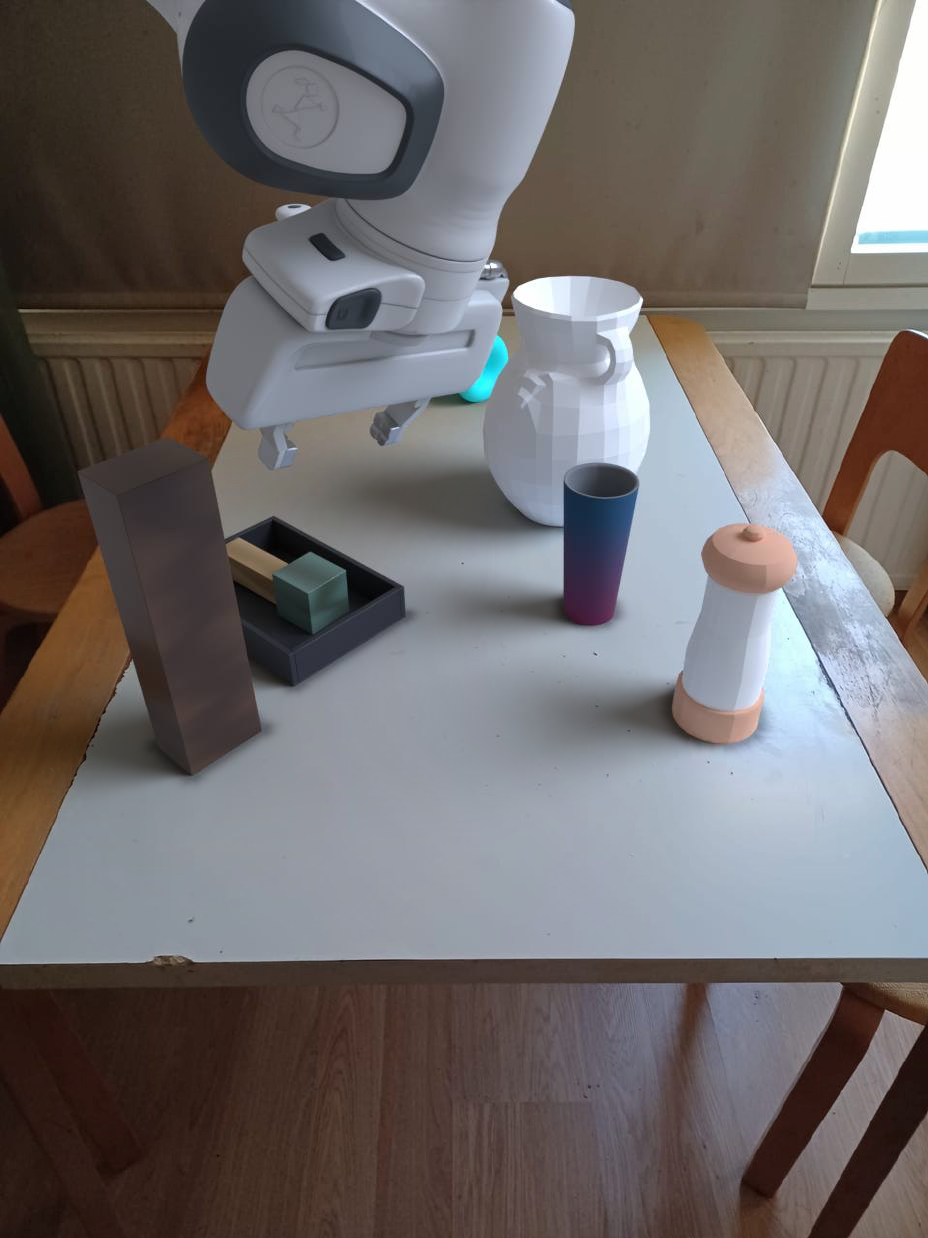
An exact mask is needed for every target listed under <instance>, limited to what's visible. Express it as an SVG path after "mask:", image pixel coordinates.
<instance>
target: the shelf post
mask: <svg viewBox="0 0 928 1238" xmlns="http://www.w3.org/2000/svg"><path fill="white" fill-rule="evenodd" d="M210 461H211V460H210V458H209V457H207V456H205V455H204V454H202V453H200V452H198V451H197V450H194V449H193V448H190V447H188V446H187V445H184V444H183V443H180V442H179V441H177V440H176V439H173V438H171V437H170V436H166V437H163V438H161V439H158V440H155V441H153V442H151V443H148V444H145V445H143V446H140V447H137V448H135V449H132V450H130V451H127V452H124V453H122V454H119V455H117V456H116V455H115V456H114V457H111V458H109V459H106V460H103V461H100V462H97V463H95V464H93V465H89V466H87V467H85V468H83V469H80V470H77V475H78V479H79V482H80V485H81V488H82V492H83V496H84V499H85V502H86V506H87V509H88V513H89V516H90V519H91V523H92V526H93V530H94V534H95V536H96V541H97V544H98V547H99V550H100V554H101V558H102V561H103V564H104V567H105V570H106V575H107V578H108V580H109V581H108V582H109V585H110V588H111V592H112V594H113V597H114V602H115V605H116V608H117V611H118V614H119V618H120V622H121V626H122V628H123V632H124V635H125V639H126V643H127V646H128V649H129V653H130V655H131V659H132V662H133V666H134V669H135V672H136V673H135V674H136V677H137V680H138V683H139V687H140V691H141V693H142V696H143V700H144V703H145V707H146V711H147V713H148V717H149V720H150V724H151V727H152V728H151V729H152V732H153V734H154V737H155V741H156V745H157V747H158V749H160V750H161V751H162V752H164V753H165V754H166V755H167V756H168V757H169V758H170V759H172V760H173V761H174V762H175V763H176V764H177V765H179V766H180V767H181V768H182V769H183V770H184V771H186V772H187V773H188V774H189V775H190V776H192V777H193V776H195V775H196V774H198V773H200V772H201V771H203V770H205V768H207V767H209V766H210V765H212V764H213V763H214V762H217V761H218V760H220V759H222V758H223V757H224V756H225V755H227V754H229V753H230V752H232V751H233V750H235V749H237V748H238V747H240V746H241V745H242V744H244V743H246V742H247V741H249V740H250V739H252V738H253V737H255V736H256V735H258V734H260V733H261V732H262V731H263V730H262V725H261V719H260V714H259V709H258V703H257V699H256V694H255V688H254V684H253V683H254V682H253V679H252V678H253V677H252V672H251V667H250V662H249V656H248V655H247V652H246V646H245V641H244V636H243V631H242V626H241V621H240V615H239V610H238V605H237V600H236V595H235V590H234V584H233V579H232V574H231V569H230V564H229V559H228V553H227V548H226V543H225V539H226V538H225V533H224V529H223V522H222V518H221V513H220V508H219V501H218V497H217V492H216V487H215V482H214V476H213V472H212V467H211V462H210Z"/></svg>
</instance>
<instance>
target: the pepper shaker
mask: <svg viewBox="0 0 928 1238" xmlns="http://www.w3.org/2000/svg"><path fill="white" fill-rule="evenodd" d="M700 556H701V561H702V565H703V568H704V570H705V573H706V574H707V579H706V583H705V588H704V594H703V599H702V604H701V608H700V612H699V615H698V617H697V619H696V622H695V624H694V628H693V630H692V632H691V635H690V637H689V640H688V642H687V646H686V649H685V655H684V662H683V669H682V671H680V673H678V675H677V678H676V681H675V687H674V693H673V698H672V704H671V711H672V717H673V719H674V720H675V722H676V723H677V726H679V727H680V728H681V729H682V730H683V731H685V732H686V733H687V734H689V736H693V737H694V738H696V739H698V740H701V741H704V742H708V743H712V744H722V745H723V744H725V745H726V744H728V745H729V744H733V743H740V742H742V741H744V740H746V739H748V738H749V737H751V736H752V735H753V734H754V732H755V731H756V730H757V727H758V724H759V719H760V717H761V712H762V709H763V704H764V700H765V691H764V688H763V687H764V682H765V679H766V676H767V673H768V670H769V666H770V659H771V637H772V623H773V618H774V616H775V615H774V614H775V610H776V606H777V602H778V598H779V593H780V589H782V588H783V587H784V586H786V585H787V584H788V583H789V582H790V580H791V579H792V578H793V577H794V575H795V574H796V572H797V570H798V569H797V568H798V555H797V552H796V550H795V548H794V546H793V544H792V542H791V540H789V539H788V538H787V537H786V536H785V535H784V534H783V533H781V532H779V531H777V530H776V529H774V528H771V527H768V526H764V525H761V524H757V523H756V524H755V523H744V522H738V523H731V524H727V525H725V526H722V527H719V528H717V530H715V531H714V533H712V534H710V536H709V537H708V538H706V540H705V542H704V545H703V546H702V549H701V551H700Z"/></svg>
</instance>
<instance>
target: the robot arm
mask: <svg viewBox="0 0 928 1238" xmlns="http://www.w3.org/2000/svg"><path fill="white" fill-rule="evenodd" d="M145 1H146V2H148V4H149V5H150V6H152V7H153V8H154V9H155V10H156V11H157V12H158V13H159V14H160V15H161V16H162V18H163V19H164V20H165V21H166V22H167V24H168V25H169V26H170V27H171V28H172V30H173V32H175V34H176V40H177V49H178V57H179V64H180V69H181V76H182V85H183V90H184V96H185V100H186V103H187V107H188V109H189V112H190V115H191V117H192V119H193V121H194V124H195V126H196V128H197V129H198V131H199V133H200V134H201V136H202V138H203V139H204V141H205V142H206V144H208V146H209V147H210V149H211V150H212V151H213V152H214V154H216V155H217V156H218V157H219V159H221V160H222V161H223V162H224V163H225V164H226V165H227V166H229V167H230V168H231V169H233V170H234V171H235V172H237V173H239V174H240V175H242V176H243V177H245V178H247V179H248V180H251V181H253V182H255V183H257V184H260V185H263V186H265V187H269V188H273V189H278V190H283V191H286V192H287V191H288V192H295V193H300V194H306V195H312V196H318V197H319V196H320V197H328V198H327V199H325V200H323V201H321V202H319V203H318V204H316V205H314V206H312V207H311V208H310V209H308V210H306V211H303V212H301V213H298V214H296V215H293V216H290V217H288V218H285V219H282V220H279V221H278V220H276V221H273V222H270V223H267V224H263V225H261V226H259V227H258V226H257V228H254V229H253V230H252V231H250V232H249V234H248V235H247V237H246V238H245V241H244V243H243V249H242V255H241V256H242V263H244V265H245V267H246V268H247V269H248V271H249V272H250V273H251V275H250V276H248V277H246V278H245V279H243V280H242V281H241V282H239V284H238V285H237V286H236V287H235V289H234V290H233V291H232V293H231V294H230V295H229V298H228V300H227V301H226V303H225V306H224V309H223V311H222V314H221V317H220V320H219V324H218V326H217V330H216V333H215V336H214V339H213V344H212V346H211V351H210V354H209V358H208V363H207V368H206V374H205V384H206V385H205V386H206V388H207V391H208V393H209V395H210V396H211V398H212V399H213V401H214V402H215V403H216V405H217V406H218V407H219V408H220V410H221V411H222V412H223V413H224V415H226V416H227V417H228V418H229V419H230V420H231V422H232V423H234V425H235V426H236V427H238V428H239V429H240V430H242V431H253V430H257V429H259V430H260V433H261V439H260V442H259V446H258V448H257V455H258V458H259V460H260V462H262V463H263V464H264V466H265V467H266V469H268V470H269V471H276V470H279V469H284V468H289V467H291V466H293V463H294V460H293V459H294V458H295V457H296V454H297V451H298V446H297V445H296V444H295V443H294V442H293V441H292V440H290V439H289V437H288V435H287V434H286V433H287V432H292V430H293V427H294V425H295V423H297V422H302V421H308V420H314V419H318V418H320V419H321V418H325V417H331V416H335V415H343V414H348V413H354V412H358V411H364V410H370V409H375V408H382V407H386V408H385V410H384V411H380V412H379V411H378V412H376V413H375V415H374V417H373V419H372V420H373V423H372V424H371V425H370V427H369V435H370V436H371V438H373V439H374V440H375V441H377V442H376V443H377V444H378V445H379V446H380V447H386V446H392V445H395V444H399V443H400V442H401V440H402V438H403V435H404V433H405V431H406V429H407V427H408V426H409V425H410V424H412V422H413V421H414V420H416V419H417V418H418V416H419V415H421V414H422V413H423V411H425V409H426V408H428V406H429V404H430V402H431V400H432V398H438V397H444V396H449V395H454V394H459V393H461V392H465V391H467V390H468V389H469V388H470V387H471V386H472V385H473V384H474V383H475V382H476V381H477V380H478V379H479V378H480V376H481V374H482V372H483V370H484V367H485V365H486V363H487V360H488V357H489V355H490V352H491V350H492V347H493V344H494V342H495V339H496V336H497V335H498V333H499V329H500V326H501V323H502V319H503V305H502V302H503V301H504V297H505V296H506V294H507V291H508V289H509V285H510V280H509V275H508V272H507V270H506V268H505V267H504V265H503V263H502V262H501V261H500V260H497V259H489V258H490V255H491V254H492V251H493V249H494V247H495V243H496V238H497V232H498V231H497V230H498V224H499V220H500V217H501V213H502V211H503V208H504V206H505V204H506V203H507V200H508V199H509V197H510V196H512V194H513V192H514V191H515V190H516V189H517V188H518V186H519V185H520V184H521V183H522V181H523V180H524V178H525V176H526V174H527V172H528V171H529V168H530V165H531V163H532V161H533V158H534V156H535V153H536V151H537V148H538V146H539V144H540V141H541V139H542V137H543V134H544V132H545V130H546V128H547V125H548V122H549V120H550V117H551V114H552V111H553V108H554V105H555V103H556V100H557V97H558V95H559V91H560V89H561V86H562V83H563V80H564V76H565V73H566V71H567V66H568V62H569V60H570V55H571V51H572V47H573V42H574V37H575V28H576V18H575V14H574V11H573V6H572V2H571V0H145Z"/></svg>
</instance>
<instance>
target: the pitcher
mask: <svg viewBox="0 0 928 1238" xmlns="http://www.w3.org/2000/svg"><path fill="white" fill-rule="evenodd" d="M510 300H511V304H512V309H513V313H514V316H515V320H516V323H517V329H518V333H519V337H520V347H519V348H518V349H517V350H516V352H514V353H513V354H512V355H511V356H510V357H509V358H508V362H507V363H506V365H505V366H504V368H503V369H502V371H501V372H500V373H499V375H498V377H497V380H496V382H495V384H494V387H493V389H492V392H491V395H490V397H489V398H488V399H487V403H486V406H485V410H484V411H485V412H484V420H483V427H482V439H483V442H482V443H483V456H484V458H485V460H486V463H487V465H488V468H489V471H490V473H491V476H492V477H493V479H494V481H495V483H496V484H497V486H498V488H499V489H500V490H501V492H502V493H503V495H504V496H505V497H506V499H507V500H508V501H509V502H510V503H511V504H512V505H513V506H514V507H515V508H516V509H517V510H518V511H519V512H520V513H521V514H522V515H524V516H525V517H526V518H527V519H529V520H531V521H532V522H534V523H537V524H540V525H543V526H548V527H561V528H564V475H565V473H566V472H567V471H568V470H569V469H571V468H572V467H575V466H577V465H581V464H585V463H596V462H599V463H610V464H615V465H619V466H622V467H625V468H627V469H629V470H630V471H632V472H633V473H635V475H636V476H637V473H638V470H639V469H640V467H641V465H642V462H643V459H644V458H645V455H646V452H647V448H648V443H649V438H650V433H651V408H650V405H651V404H650V400H649V397H648V394H647V391H646V388H645V384H644V381H643V378H642V375H641V374H640V372H639V370H638V368H637V366H636V363H635V360H634V350H633V349H634V348H633V344H632V341H631V338H630V334H631V332H632V330H633V329H634V327H635V325H636V323H637V322H638V318H639V316H640V312H641V309H642V306H643V302H644V299H643V297H642V295H641V294H640V293H639V291H638V290H637V289H636V288H635V287H633V286H632V285H630V284H627V283H624V282H622V281H618V280H614V279H610V278H603V277H598V276H597V277H596V276H584V275H583V276H582V275H579V276H578V275H566V276H565V275H564V276H563V275H561V276H548V277H547V276H546V277H541V278H536V279H533V280H529V281H527V282H525V283H523V284H519V285H518V286H517V287H516V288H515V290H514V291H513V293H512V294H511V295H510Z"/></svg>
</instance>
